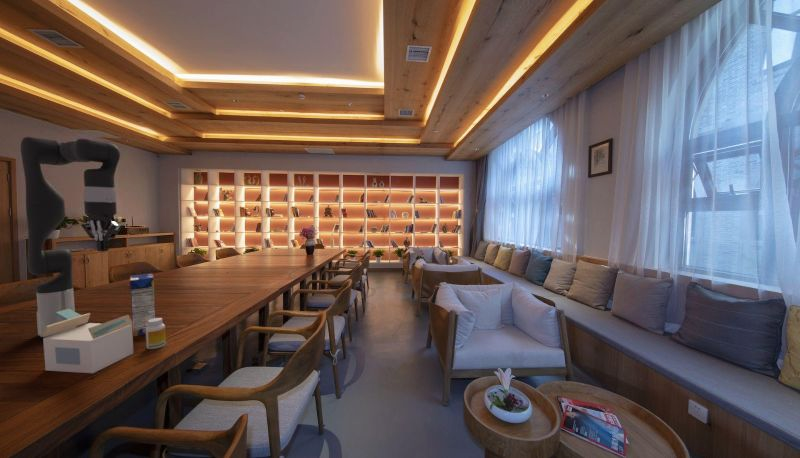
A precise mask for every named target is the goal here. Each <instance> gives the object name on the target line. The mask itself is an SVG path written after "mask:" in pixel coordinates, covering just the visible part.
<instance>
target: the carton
mask: <svg viewBox="0 0 800 458" xmlns="http://www.w3.org/2000/svg"><path fill="white" fill-rule="evenodd" d="M100 324H101V323H98V322H97V323H96V322H95V323H94V322H89V323H88V322H87V323H84V324H81V325H78V326H76V328H73V329H70V330H67V331H64V332H61V333H58V334H55V335H52V336H49V337H42V338H43V342H42V343H43V354H44V365H45V366H44V367H45V368H44V369H45V371H49V372H50V371H51V372H64V373H65V372H66V373H67V372H68V373H83V374H85V373H86V374H95V373H97V372H99V371H100V370H103V369H105V368H107V367H108V366H111V365H113V364H115V363H117V362H119V361H121V360H123V359H126V358H127V357H129V356H132V355H133V354H135V353H134V340H133V339H134V338H133V337H134V336H133V325H132V324H131V325H129V326H126V327H124V328H121V329H118V330H116V331H113V332H111V333H108V334H106V335H103V336H100V337H98V338H95V339H93V338H92V336H91V334H90V332H89V330H88V329H89V328H91V327H94V326H97V325H100Z"/></svg>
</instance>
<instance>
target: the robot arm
mask: <svg viewBox="0 0 800 458" xmlns="http://www.w3.org/2000/svg"><path fill="white" fill-rule="evenodd" d="M20 154H21V162H22V167H23V172H24V181H25V212H26V214H25V215H26V222H27V223H26V224H27V230H28V231H27V232H28V233H27V234H28V236H27V237H28V239H27V240H28V241H27V243H28V245H27V269H28V272H29V273H30V274H31V275H32V276H43V275H50V274H58V275H56V276H55V277H54V278H51V279H49V280H48V281H44V282H41V283H39V284H37V285H36V287H35V288H36V289H35V291H36V303H37V304H36V305H37V311H36V326H37V335H38V336H39V337H40V338H46V337H49V336H52V335H55V334H58V333H61V332H64V331H67V330H70V329H73V328H76V327H77V326H75V327H72V328H69V329H66V330H63V331H60V332H57V333H54V334H51V335H48V336H45V337H43V336H42V335H43V333H44V330H45V327H46V326H48V325H51V324H54V323H58V322H61V321H64V319H62V318H61V317H59V316H57V315H55V313H56V312H59V311H62V310H66V309H71V310H73V311H75V312H76V309H75V297H74V296H75V294H74V284H73V283H74V282H73V280H74V279H73V278H74V277H73V254H72V252H71V250H69V249H67V248H60V249H59V248H58V249H47V250H46V249H45V250H44V249H43V247H44V245H45V242H46V241H47V239H48V238H49V236H50V235H51V234H52V233H53V232H54V231H55V230H56V229H57V227H58V226H59V225H61V223H62V222H63V221H64V219H65V217H66V202H65V199H64V198H63V196H62V195H61V193H59V191H58V190H57V189H55V187H53V185H51V183H50V182H49V181H48V180H47V179H46V177H45V176H44V174H43V173H44V172H43V171H42V168H41V165H48V166H64V165H68V164H72V163H74V162H75V163H90V162H94V163H101V166H100V167H98V168H89V169H85V170H84V171H83V184H84V188H83V189H84V191H83V205H84V214H85V215H88V218H87V222H86V223H81V227H82V228H83V230H84V231H85V233H86V234H87V235H88V237H89V238H90V239H94V240H95V241H96V249H97V252H108V251H109V248H110V247H109V246H110V245H109V242H110V240H111V239H115V238H116V236H117V235H118V234H119V232H120V230H121V229H122V228H123V226H122V224H118V223H117V222H116V219H115V215H117V212H118V211H117V210H118V209H117V195H116V189H115V174H116V170H117V167H118V164H119V161H120V158H121V151H120V149H119V148H118V146H117V145H115V144H114V143H112V142H106V141H103V140H101V141H100V140H95V139H89V138H78V139H76V140H75V141H74V140H73V141H66V142H62V141H59V140H56V139H55V140H54V139H47V138H39V137H32V136H25V137H23V138H22V140H21V141H20Z"/></svg>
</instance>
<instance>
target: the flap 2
mask: <svg viewBox="0 0 800 458" xmlns="http://www.w3.org/2000/svg"><path fill="white" fill-rule="evenodd" d="M132 324H133V323H132V318H131V317H130V315H129V314H126V315H122V316H120V317H117V318H114V319H111V320H108V321H106V322H103V323H100V325H97V326H94V327H91V328H89V329H88V330H89V332H90V334H91V336H92V338H93V339H95V338H98V337H100V336H103V335H106V334H108V333H111V332H113V331H116V330H118V329H121V328H124V327H126V326H129V325H132Z"/></svg>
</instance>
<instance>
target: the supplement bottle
mask: <svg viewBox="0 0 800 458" xmlns="http://www.w3.org/2000/svg"><path fill="white" fill-rule="evenodd" d="M148 325H149V326H148V327H147V328H146V334H145V345H146V349H148V350H155V349H160V348H162V347H164V346H165V345H166V344H167V338H166V334H167V333H166V325H165V324H164V323H163V318H162V317H156V318H154V319H150V320H148Z"/></svg>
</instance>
